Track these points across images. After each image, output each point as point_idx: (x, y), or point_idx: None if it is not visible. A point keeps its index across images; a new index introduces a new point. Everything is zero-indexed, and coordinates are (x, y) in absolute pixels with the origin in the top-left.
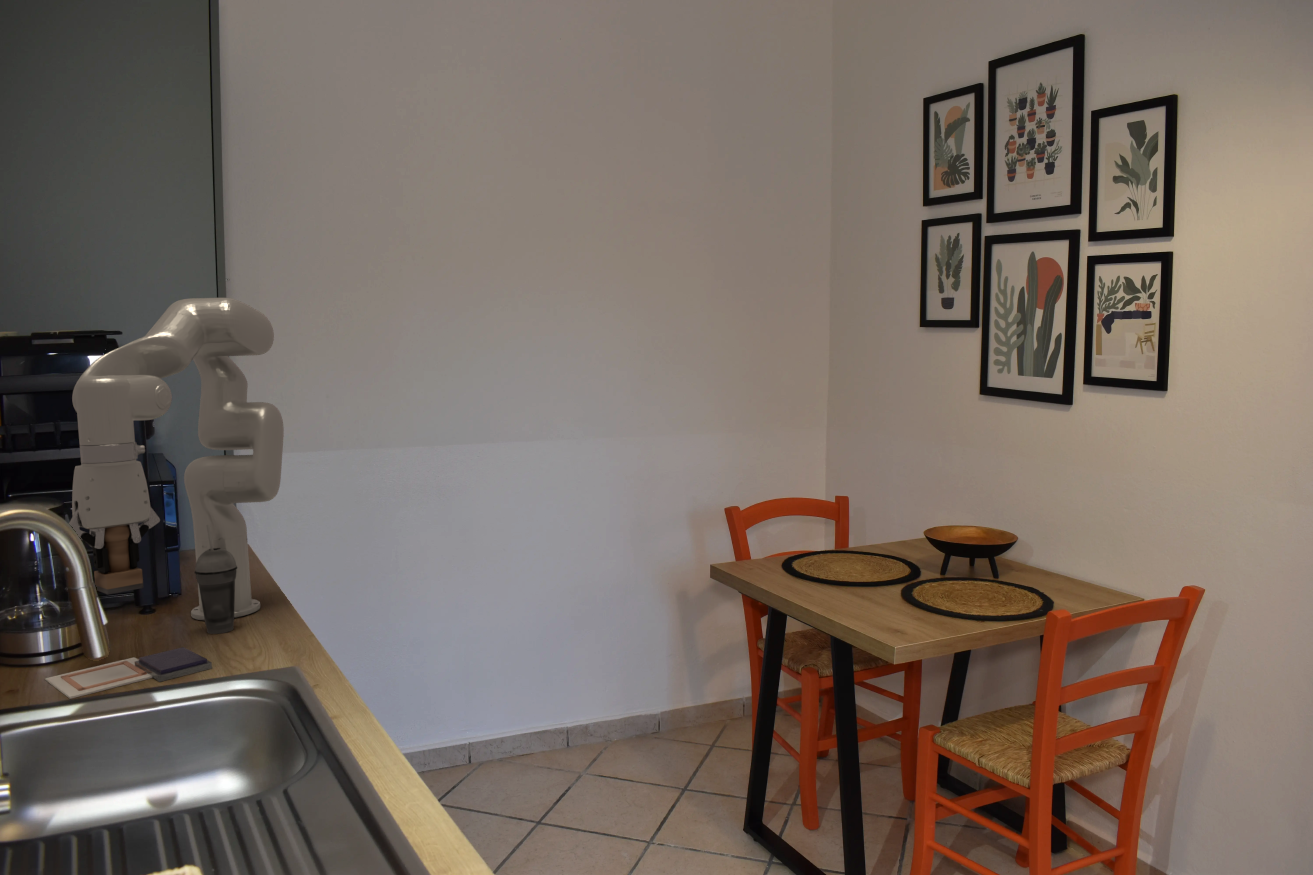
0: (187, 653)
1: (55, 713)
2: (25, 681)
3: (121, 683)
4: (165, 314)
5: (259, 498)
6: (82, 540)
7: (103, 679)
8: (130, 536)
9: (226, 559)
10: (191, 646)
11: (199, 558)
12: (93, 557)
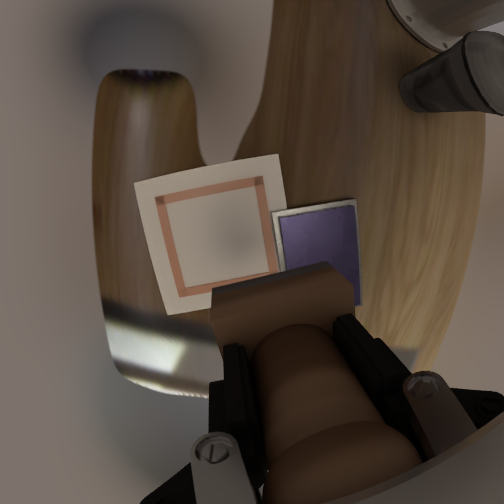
0: (349, 252)
1: (154, 358)
2: (108, 168)
3: None
4: None
5: None
6: (158, 487)
7: (215, 260)
8: (410, 430)
9: None
10: (368, 150)
11: (494, 57)
12: (209, 408)
